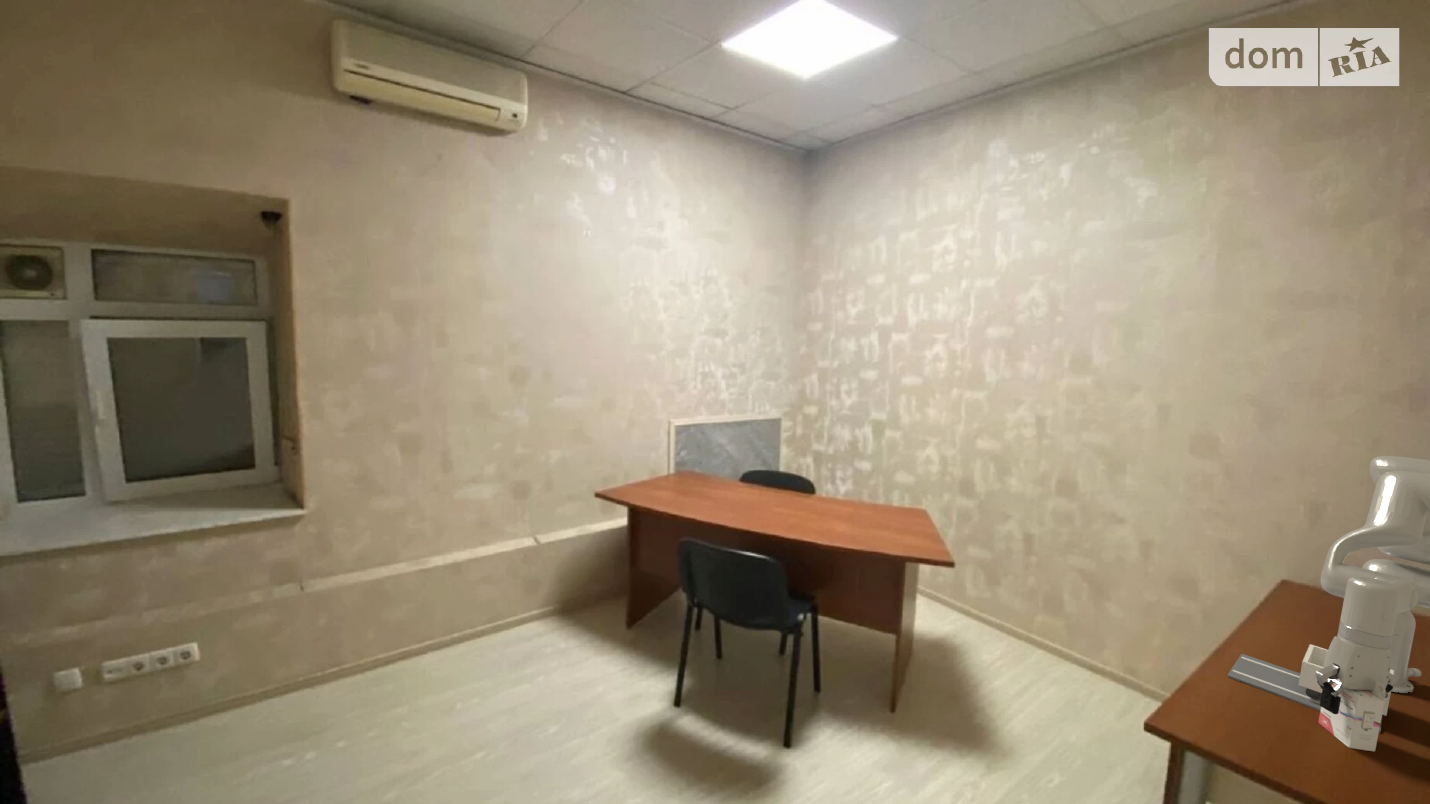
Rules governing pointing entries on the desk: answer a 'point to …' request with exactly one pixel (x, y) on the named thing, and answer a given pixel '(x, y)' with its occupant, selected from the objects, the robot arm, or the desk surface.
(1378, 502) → the robot arm
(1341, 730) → the ink cartridge box
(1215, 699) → the desk surface
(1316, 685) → the white open box
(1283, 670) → the mat
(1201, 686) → the desk surface
